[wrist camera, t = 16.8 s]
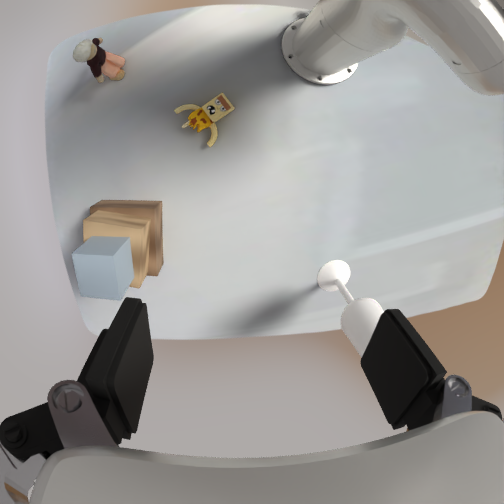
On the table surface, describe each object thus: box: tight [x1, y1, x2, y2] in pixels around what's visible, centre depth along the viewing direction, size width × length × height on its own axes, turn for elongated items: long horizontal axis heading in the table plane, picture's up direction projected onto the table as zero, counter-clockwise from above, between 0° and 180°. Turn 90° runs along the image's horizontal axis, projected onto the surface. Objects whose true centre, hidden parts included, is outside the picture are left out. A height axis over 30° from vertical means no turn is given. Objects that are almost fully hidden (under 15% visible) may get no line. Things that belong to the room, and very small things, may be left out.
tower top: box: [83, 210, 151, 288], centre depth 36 cm, size 9×9×5 cm
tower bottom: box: [90, 200, 163, 276], centre depth 41 cm, size 11×11×5 cm
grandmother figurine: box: [73, 38, 125, 83], centre depth 25 cm, size 8×4×13 cm, turn 18°
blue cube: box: [72, 236, 134, 301], centre depth 32 cm, size 6×6×6 cm
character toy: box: [174, 92, 234, 147], centre depth 35 cm, size 8×3×8 cm
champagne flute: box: [317, 260, 384, 357], centre depth 38 cm, size 7×7×24 cm
